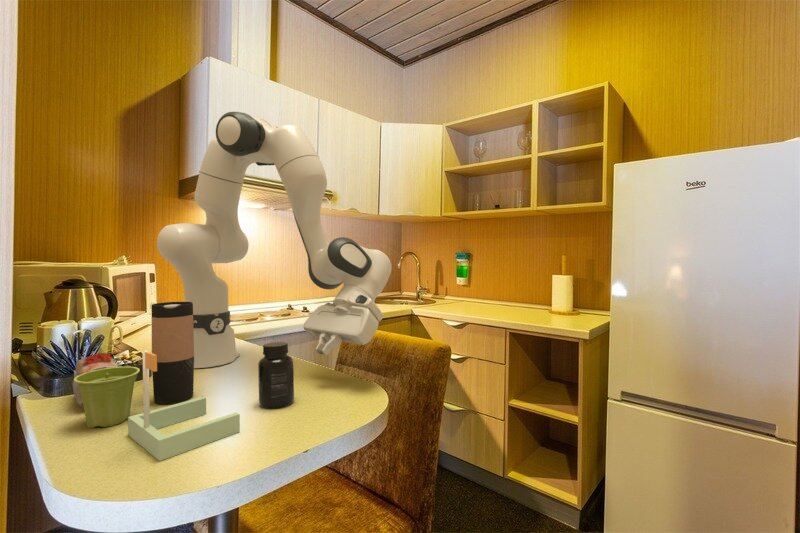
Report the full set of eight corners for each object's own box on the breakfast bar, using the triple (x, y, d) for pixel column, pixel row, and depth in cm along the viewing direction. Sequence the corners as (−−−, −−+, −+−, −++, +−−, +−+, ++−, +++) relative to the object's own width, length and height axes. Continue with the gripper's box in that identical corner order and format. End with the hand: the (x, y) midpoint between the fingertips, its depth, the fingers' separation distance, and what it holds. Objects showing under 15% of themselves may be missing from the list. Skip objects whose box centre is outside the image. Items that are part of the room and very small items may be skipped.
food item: (127, 404, 78) (126, 356, 78) (76, 416, 73) (75, 363, 72) (114, 389, 88) (113, 345, 88) (68, 398, 82) (67, 351, 82)
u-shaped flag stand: (128, 435, 64) (126, 345, 64) (203, 412, 74) (202, 333, 74) (159, 461, 56) (157, 357, 56) (239, 431, 65) (238, 343, 65)
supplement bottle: (299, 397, 82) (298, 340, 81) (286, 410, 75) (285, 348, 75) (267, 396, 82) (267, 340, 82) (252, 408, 75) (251, 347, 75)
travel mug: (177, 390, 86) (176, 301, 86) (202, 395, 83) (201, 302, 83) (143, 402, 79) (142, 304, 79) (170, 407, 76) (168, 306, 76)
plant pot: (149, 418, 71) (148, 371, 71) (86, 438, 63) (85, 385, 63) (127, 407, 76) (126, 363, 76) (66, 424, 69) (65, 375, 68)
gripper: (317, 294, 99) (284, 339, 92) (376, 299, 87) (344, 351, 79) (330, 310, 103) (300, 354, 95) (389, 316, 90) (360, 368, 83)
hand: (320, 352), depth 87 cm, fingers closed
